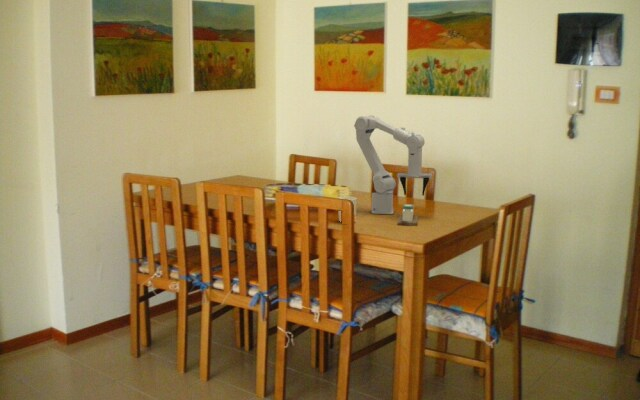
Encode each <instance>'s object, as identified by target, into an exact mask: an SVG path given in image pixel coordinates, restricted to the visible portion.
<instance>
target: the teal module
mask: <svg viewBox="0 0 640 400" xmlns="http://www.w3.org/2000/svg"><path fill="white" fill-rule="evenodd" d="M406 204H407V203H405V204H403V205H402V208H403V209H413V205H414V204H412V205H406Z"/></svg>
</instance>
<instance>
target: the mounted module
mask: <svg viewBox="0 0 640 400" xmlns="http://www.w3.org/2000/svg"><path fill="white" fill-rule="evenodd" d="M402 215H403V218H402V221H412V220H413V215H414V212H413V209H403V210H402Z"/></svg>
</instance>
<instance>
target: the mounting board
mask: <svg viewBox="0 0 640 400" xmlns="http://www.w3.org/2000/svg"><path fill="white" fill-rule="evenodd" d="M402 218H403V214H399V215H398V219H397V222H396V223H397V224H396V225H397V226H410V227H411V226H415V227H417V226H418V222H419V221H418V220H419V215H418V214H417V215H415V214H413V220H412V221H402Z"/></svg>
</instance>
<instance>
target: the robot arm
mask: <svg viewBox="0 0 640 400" xmlns="http://www.w3.org/2000/svg"><path fill="white" fill-rule="evenodd" d="M353 126H354V128H355V129H354V130H355V136H356V137H355V139H356V143H357V144H358V145H359V148H360V150H361V153H362V154H363V156H364V158H365V160H366V162H367V164H368V166H369V168H370V170H371V173H372V174H373V176H372V183H373V188H374V190H375V192H372V194H371V206H370V208H371V212H370V213H371V214H372V215H373V214H377V215H378V214H379V215H382V214H383V215H393V214H394V211H395V210H394V207H393V206H394V190H395V188H396V187H397V182H396V180H395V178H394V177H393V176H392V175H391V173H390V172H389V171H387V170H386V169H385V167H384V165H383V162H381V159H380V157H379V155H378V153H377V151H376V149H375V146H374V145H373V142H372V140H371V137H372V134H373V132H374V131H375V130H377V129H378V130H381V131H383V132H385V133H387V134H389V135H391V136H393V139H394V140H395V141H397V142H399V143H401V144H403V145H404V146H406V148H407V149H408V154H407V155H408V157H407V158H408V159H407V160H408V162H407V165H408V166H407V172H398V173H397V179H399V181H400V183H401V185H402V188H403V189H402V190H403V195H404V196H406V195H407V179H422V194H421V196H425V191H426V188H427V185H428V183H429V181H430V180H432V179H433V177H432V176H433V174H432V173H425V172H424V173H423V172H422V167H423V166H422V165H423V164H422V163H423V162H422V161H423V147H424V145H425V138H424V137H423V136H422V135H421V134H415V132H413V131H412V132H411V131H409V130H406V127H404V126H402V127H401V126H399V127H397V128H396V127H395V126H393V125H391V124H389V123H388V122H385V121H384V120H383V119H381V118H379V117H378V116H377V117H376V116H374V115H368V116H367V115H366V116H358V117H357V118H356V119H355V122H354V124H353Z"/></svg>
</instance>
